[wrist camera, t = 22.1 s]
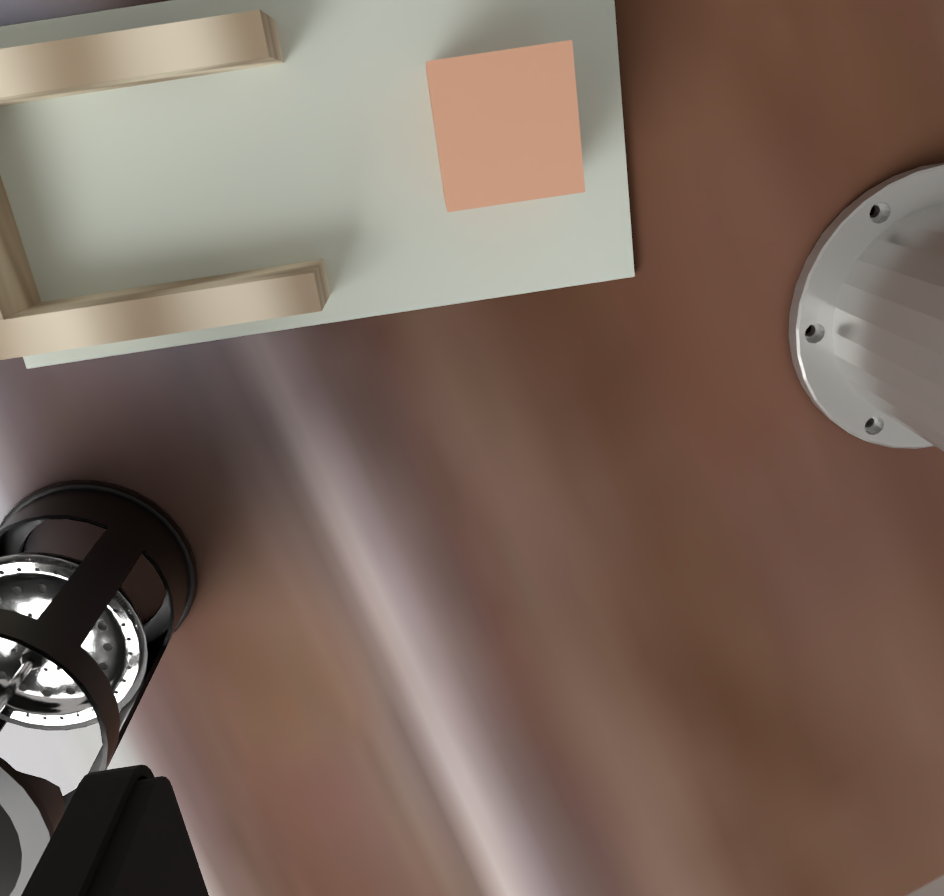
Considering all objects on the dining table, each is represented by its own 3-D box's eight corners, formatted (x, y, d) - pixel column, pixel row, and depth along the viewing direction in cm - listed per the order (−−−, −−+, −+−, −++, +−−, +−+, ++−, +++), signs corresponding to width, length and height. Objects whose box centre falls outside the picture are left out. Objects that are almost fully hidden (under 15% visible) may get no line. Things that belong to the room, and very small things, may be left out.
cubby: (275, 20, 33) (259, 9, 30) (330, 294, 37) (321, 311, 34) (-74, 73, 33) (-128, 68, 30) (17, 341, 37) (-22, 363, 34)
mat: (607, -65, 33) (609, -67, 33) (632, 274, 38) (634, 276, 37) (-80, 40, 33) (-85, 39, 33) (30, 366, 38) (27, 368, 37)
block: (551, 51, 34) (572, 39, 29) (564, 182, 36) (585, 191, 31) (425, 69, 34) (425, 61, 29) (444, 200, 36) (447, 212, 31)
